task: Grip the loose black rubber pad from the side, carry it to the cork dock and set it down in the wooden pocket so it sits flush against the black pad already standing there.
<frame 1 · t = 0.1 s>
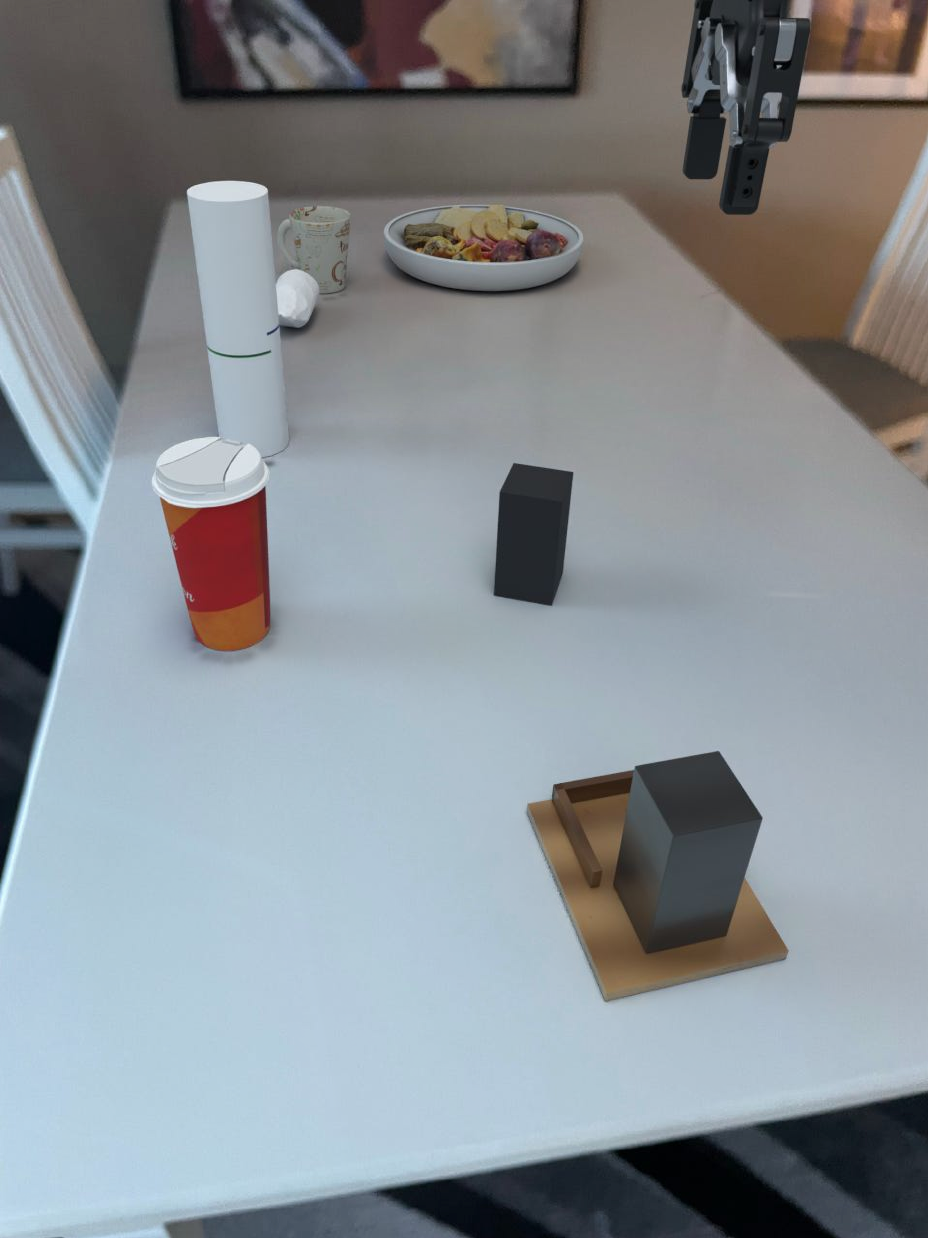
hand: (716, 194, 64), 33 cm above the table, tool pointing down, fingers open, 8 cm apart
bowl: (482, 266, 153), on the table
cylindrical container: (254, 443, 105), on the table
coffee cup: (232, 630, 80), on the table
pad dock: (647, 880, 61), on the table
mug: (312, 285, 144), on the table
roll: (292, 326, 131), on the table
black pad: (528, 584, 85), on the table
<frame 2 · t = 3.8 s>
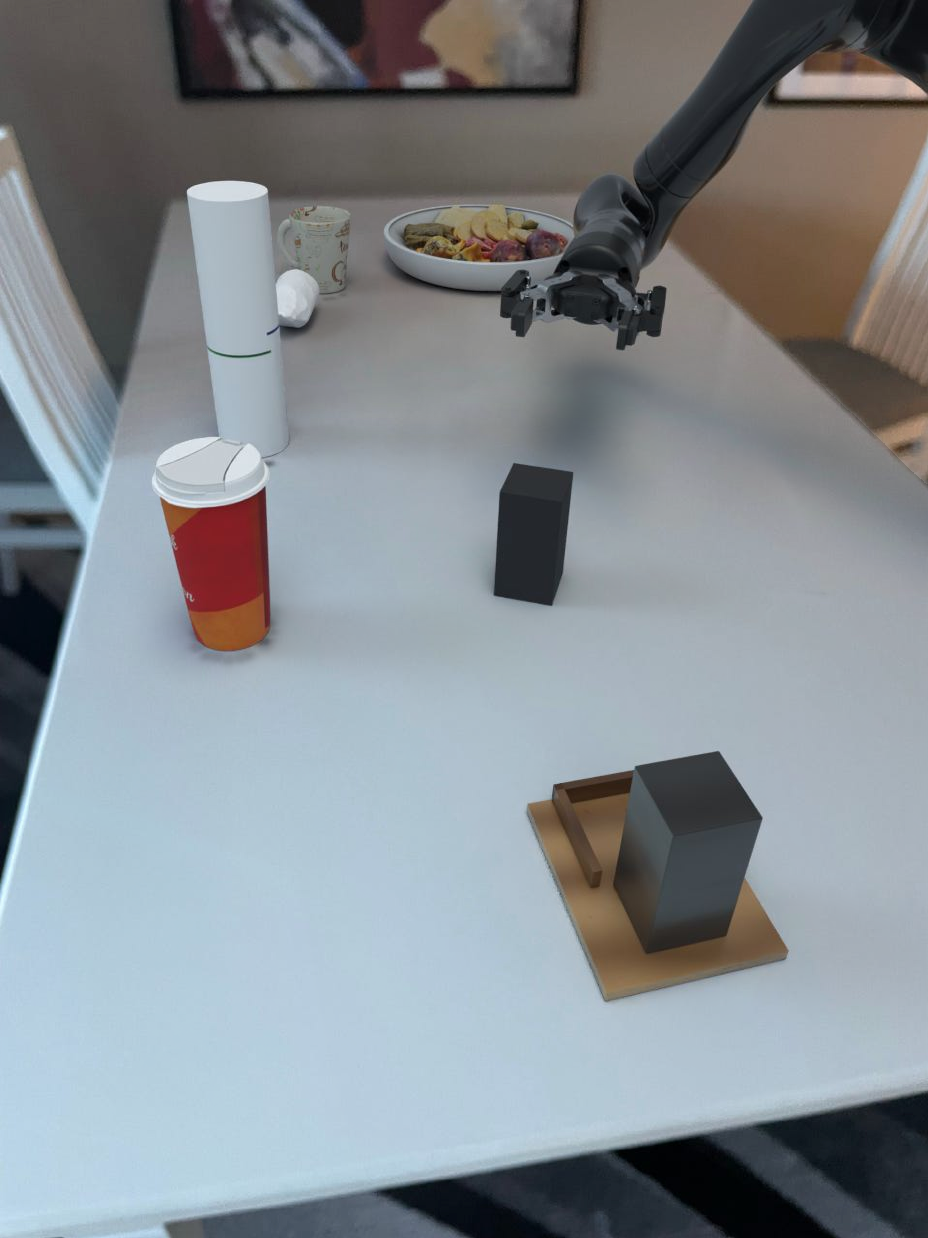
hand: (570, 332, 83), 18 cm above the table, tool horizontal, fingers open, 8 cm apart
nothing on the table moved.
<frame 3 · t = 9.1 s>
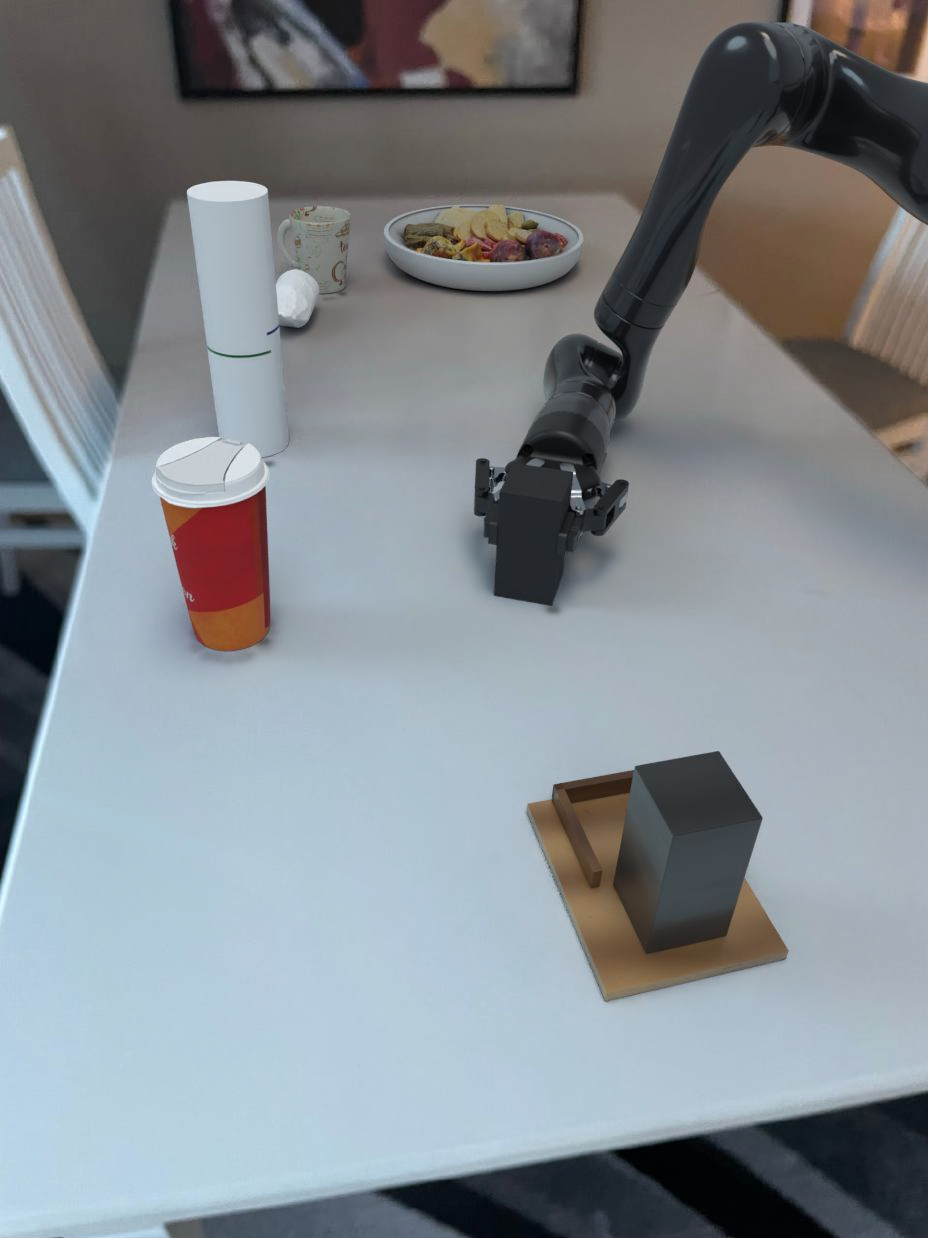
hand: (527, 540, 80), 6 cm above the table, tool horizontal, fingers closed on black pad, 5 cm apart
black pad: (528, 584, 85), on the table, touching gripper
everything else where it was.
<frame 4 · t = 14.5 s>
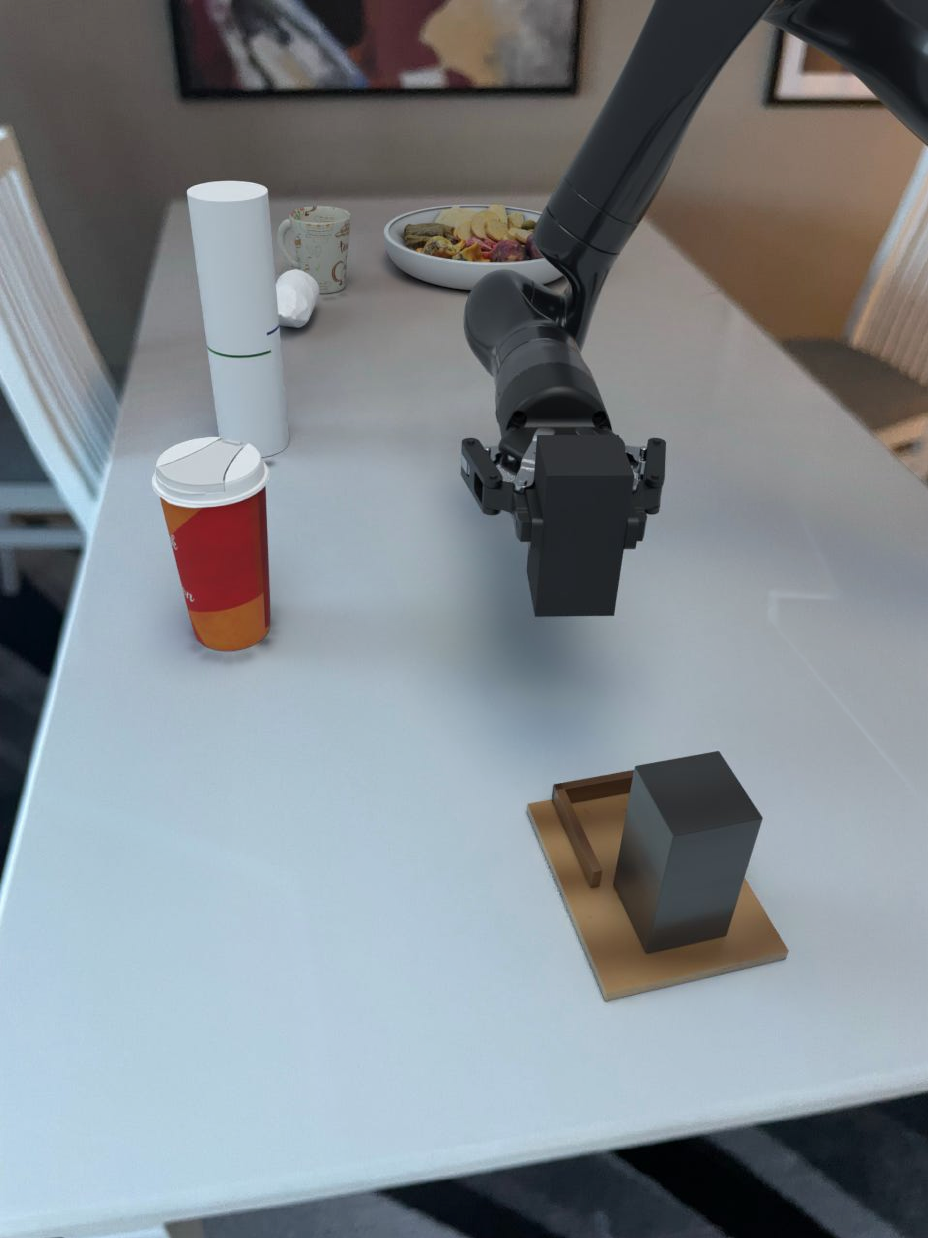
hand: (584, 536, 59), 18 cm above the table, tool horizontal, fingers closed on black pad, 5 cm apart
black pad: (569, 593, 64), point 12 cm above the table, touching gripper
everything else where it was.
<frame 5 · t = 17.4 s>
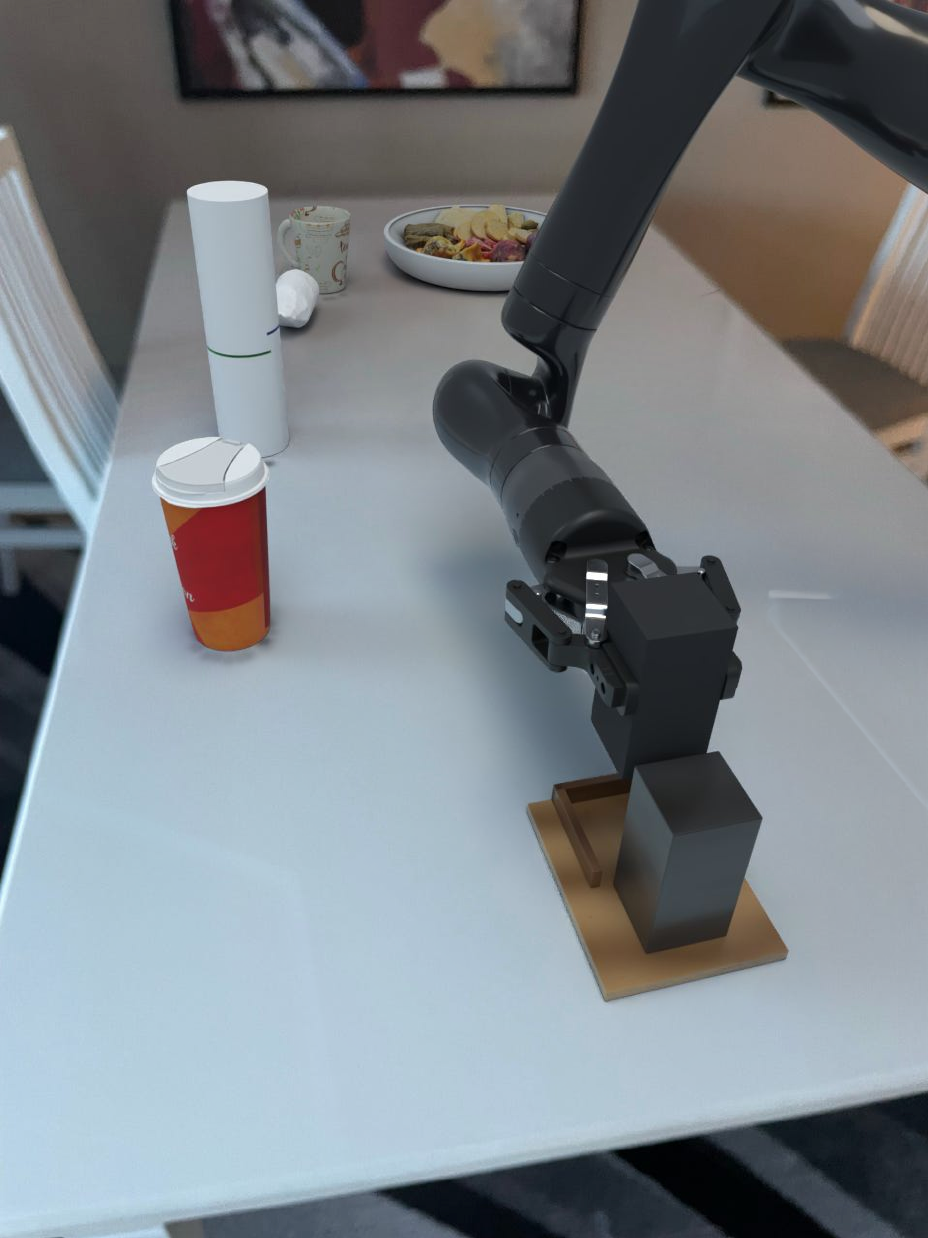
hand: (681, 694, 52), 15 cm above the table, tool horizontal, fingers closed on black pad, 5 cm apart
black pad: (645, 742, 58), point 9 cm above the table, touching gripper
everything else where it was.
when the fingers open (7 cm above the table, at t = 19.9 s): black pad stays where it is, resting on pad dock.
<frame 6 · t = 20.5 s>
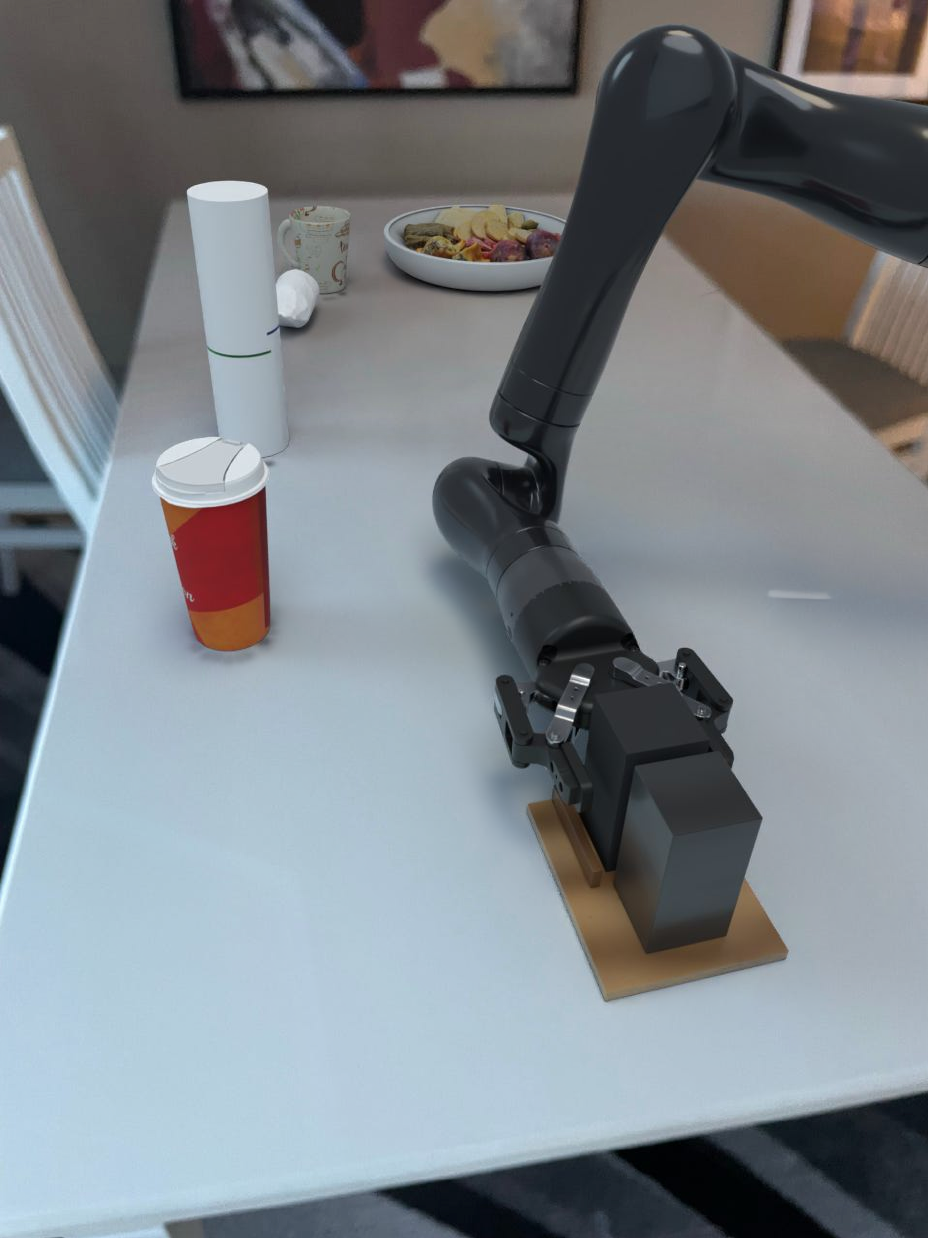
hand: (656, 789, 57), 7 cm above the table, tool horizontal, fingers open, 8 cm apart
black pad: (628, 834, 63), point 1 cm above the table, touching pad dock
everything else where it was.
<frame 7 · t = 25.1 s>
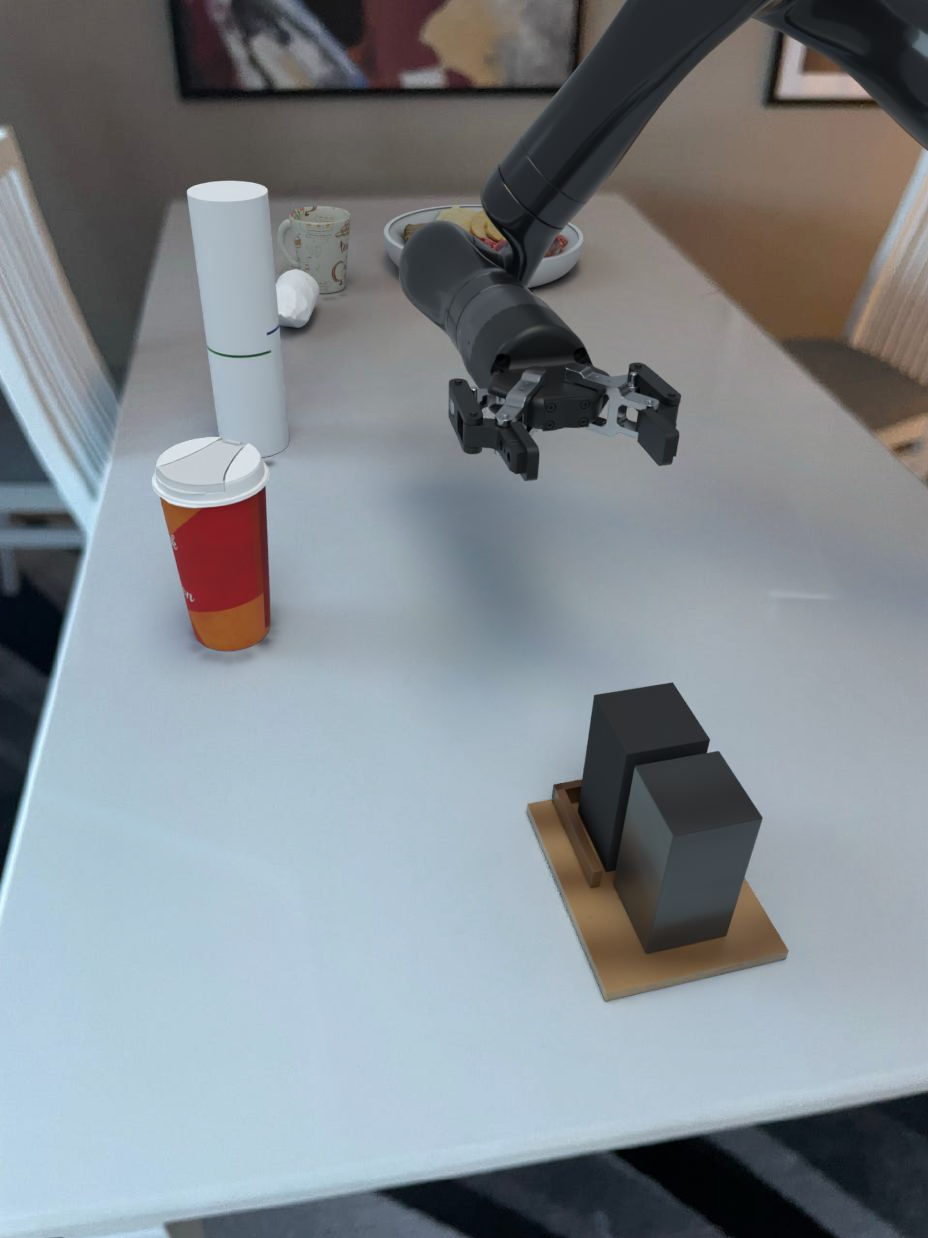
hand: (602, 459, 59), 21 cm above the table, tool horizontal, fingers open, 8 cm apart
nothing on the table moved.
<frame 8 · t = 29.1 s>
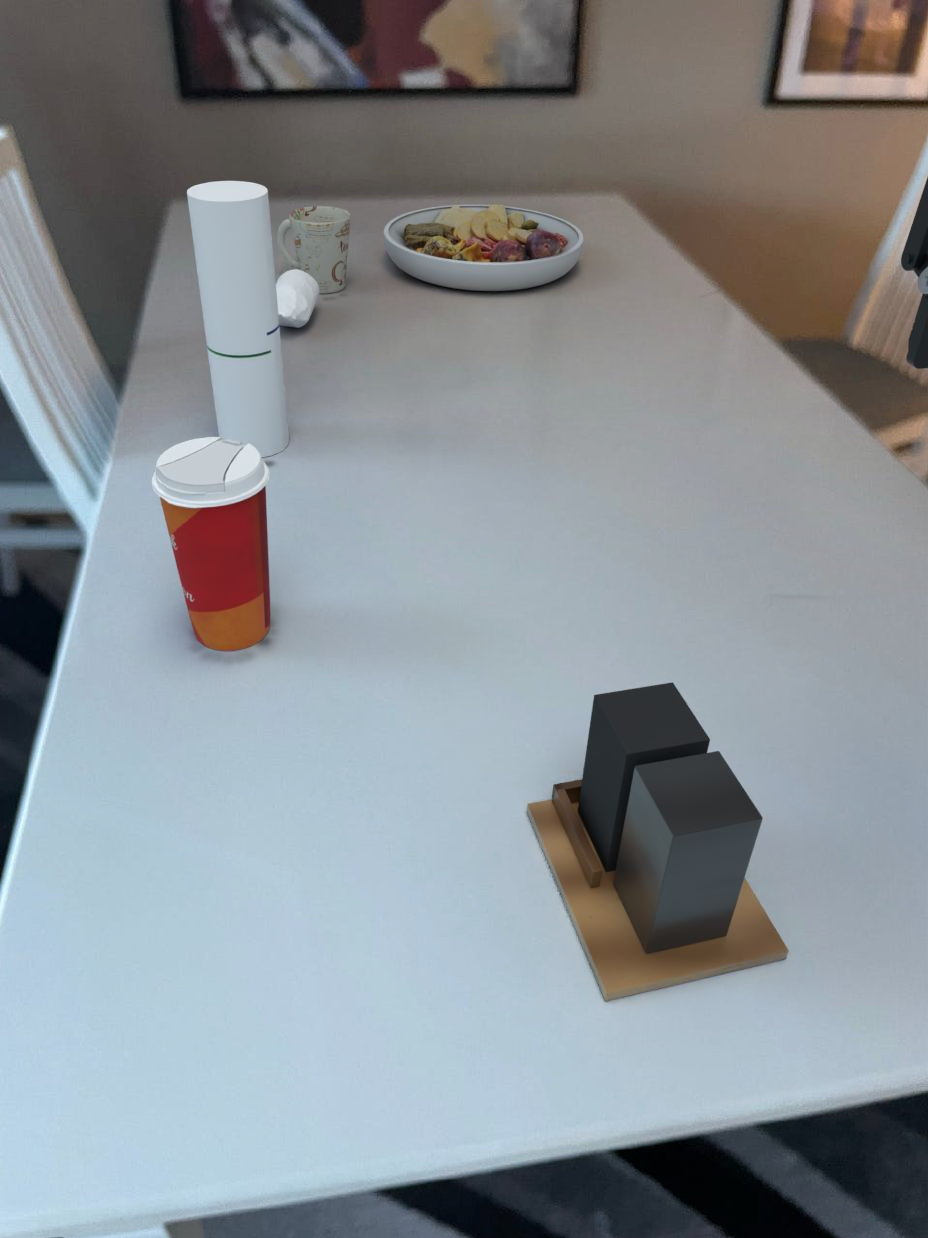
nothing on the table moved.
at the end: black pad 0.2 cm from the target spot on the pad dock, point 0.8 cm above the pad dock's base; black pad tilted 0°; the gripper is holding nothing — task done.
